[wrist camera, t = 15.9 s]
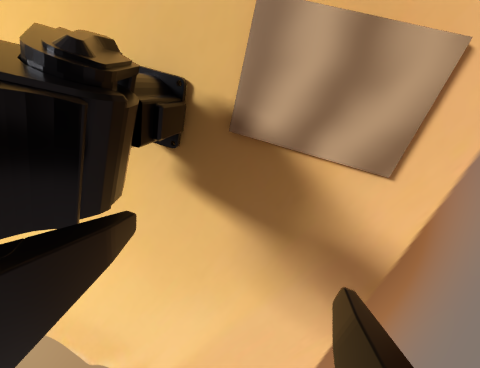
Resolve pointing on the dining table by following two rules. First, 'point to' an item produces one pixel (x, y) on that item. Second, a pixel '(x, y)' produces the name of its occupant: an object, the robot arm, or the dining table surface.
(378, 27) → the oak pad
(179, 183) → the dining table surface
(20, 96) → the robot arm
